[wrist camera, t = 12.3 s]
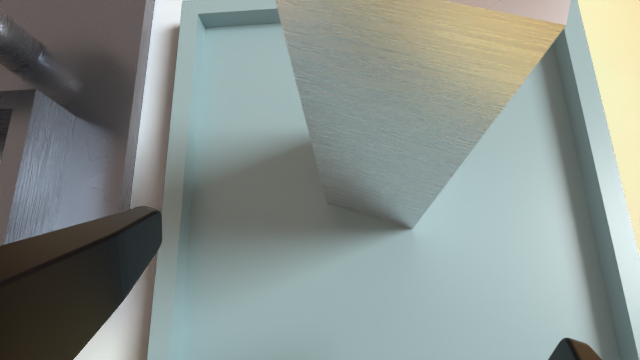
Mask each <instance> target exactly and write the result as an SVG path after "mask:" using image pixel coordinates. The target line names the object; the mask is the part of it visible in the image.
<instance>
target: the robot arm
mask: <svg viewBox="0 0 640 360" xmlns="http://www.w3.org/2000/svg"><path fill="white" fill-rule="evenodd" d="M161 243H162V215H161V212H160V211H158V210H156V209H153V208H150V207H146V206H142V207H138V208H134V209H131V210H127V211H123V212H120V213H116V214H112V215H109V216H105V217H102V218H98V219H94V220H91V221H87V222H84V223H80V224H76V225H73V226H69V227H66V228H62V229H58V230H55V231H51V232H48V233H44V234H40V235H37V236H33V237H29V238H26V239H22V240H19V241H15V242H11V243H8V244H4V245H1V246H0V360H73V359H74V358H75V357H76V356H77V355H78V354H79V352H80V351H81V350H82V349H83V348H84V347H85V345H86V344H87V343H88V342H89V341H90V339H91V338H92V337H93V336H94V335H95V334H96V332H97V331H98V330H99V329H100V328H101V327H102V325H103V324H104V323H105V322H106V321H107V319H108V318H109V317H110V316H111V315H112V314H113V312H114V311H115V310H116V309H117V308H118V306H119V305H120V304H121V303H122V301H123V300H124V299H125V297H126V296H127V295H128V293H129V292H130V291H131V289H132V288H133V286H134V285H135V283H136V282H137V280H138V279H139V277H140V276H141V275H142V273H143V272H144V270H145V269H146V267H147V266H148V264H149V263H150V261H151V260H152V258H153V257H154V256H155V254H156V253H157V251H158V250H159V248H160V246H161ZM548 360H602V359H601V358H600V357H599V355H598V354H597V353H596V352H595V351H594V350H593V349H592V348H591V347H590V346H589V345H588V344H586V343H584V342H581V341H578V340H575V339H571V338H563V339H562V340H561V341H560V342H559V343H558V345H557V346H556V348H555V350H554V351H553V353H552V354H551V356H550V357H549V359H548Z"/></svg>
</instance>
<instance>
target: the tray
mask: <svg viewBox="0 0 640 360" xmlns="http://www.w3.org/2000/svg"><path fill="white" fill-rule="evenodd" d="M161 215H162V243H161V246H160V248H159V250H158V253H157V263H156V273H155V283H154V294H153V304H152V314H151V324H150V334H149V344H148V354H147V360H548V359H549V357H550V356H551V354H552V353H553V351H554V350H555V348H556V346H557V345H558V343H559V342H560V341H561V340H562V339H563V338H571V339H575V340H578V341H581V342H584V343H586V344H588V345H589V346H590V347H591V348H592V349H593V350H594V351H595V352H596V353H597V354H598V355H599V357H600V358H601V359H602V360H640V256H639V252H638V248H637V244H636V240H635V236H634V232H633V228H632V223H631V219H630V215H629V211H628V207H627V203H626V199H625V195H624V191H623V186H622V182H621V178H620V174H619V170H618V166H617V162H616V158H615V154H614V149H613V145H612V141H611V137H610V133H609V129H608V125H607V121H606V117H605V112H604V108H603V104H602V100H601V96H600V92H599V88H598V84H597V80H596V76H595V71H594V67H593V63H592V59H591V55H590V51H589V47H588V43H587V39H586V34H585V30H584V26H583V22H582V18H581V14H580V10H579V6H578V2H577V0H571V2H570V8H569V13H568V19H567V24H566V26H565V27H564V29H563V30H562V31H561V33H560V34H559V35H558V37H557V38H556V39H555V41H554V42H553V43H552V45H551V46H550V47H549V49H548V50H547V51H546V53H545V54H544V55H543V57H542V58H541V59H540V61H539V62H538V63H537V65H536V66H535V67H534V69H533V70H532V71H531V73H530V74H529V75H528V77H527V78H526V79H525V81H524V82H523V83H522V85H521V86H520V87H519V89H518V90H517V91H516V93H515V94H514V95H513V97H512V98H511V99H510V101H509V102H508V103H507V105H506V106H505V107H504V109H503V110H502V111H501V113H500V114H499V115H498V117H497V118H496V119H495V120H494V122H493V123H492V124H491V126H490V127H489V128H488V130H487V131H486V132H485V134H484V135H483V136H482V138H481V139H480V140H479V142H478V143H477V144H476V146H475V147H474V148H473V150H472V151H471V152H470V154H469V155H468V156H467V158H466V159H465V160H464V162H463V163H462V164H461V166H460V167H459V168H458V170H457V171H456V172H455V174H454V175H453V176H452V178H451V179H450V180H449V182H448V183H447V184H446V186H445V187H444V188H443V190H442V191H441V192H440V194H439V195H438V196H437V198H436V199H435V200H434V202H433V203H432V204H431V206H430V207H429V208H428V210H427V211H426V212H425V213H424V215H423V216H422V217H421V219H420V220H419V221H418V223H417V224H416V225H415V227H414V228H413V229H411V228H407V227H404V226H400V225H397V224H394V223H390V222H387V221H383V220H380V219H376V218H373V217H370V216H366V215H363V214H359V213H356V212H353V211H349V210H346V209H342V208H339V207H336V206H332V205H329V204H327V203H326V199H325V195H324V191H323V187H322V183H321V179H320V175H319V171H318V167H317V164H316V160H315V156H314V152H313V148H312V144H311V140H310V136H309V132H308V128H307V124H306V120H305V116H304V112H303V108H302V104H301V100H300V96H299V92H298V88H297V85H296V81H295V77H294V73H293V69H292V65H291V61H290V57H289V53H288V49H287V45H286V41H285V37H284V33H283V29H282V25H281V21H280V17H279V13H278V10H277V6H276V2H275V0H186V1H182V10H181V20H180V30H179V40H178V50H177V60H176V71H175V81H174V91H173V101H172V111H171V121H170V131H169V142H168V152H167V162H166V172H165V182H164V192H163V202H162V213H161Z"/></svg>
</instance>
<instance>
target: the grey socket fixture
mask: <svg viewBox="0 0 640 360" xmlns="http://www.w3.org/2000/svg"><path fill="white" fill-rule="evenodd" d="M154 3H155V0H0V246H1V245H4V244H8V243H11V242H15V241H19V240H22V239H26V238H29V237H33V236H37V235H40V234H44V233H48V232H51V231H55V230H58V229H62V228H66V227H69V226H73V225H76V224H80V223H84V222H87V221H91V220H94V219H98V218H102V217H105V216H109V215H112V214H116V213H120V212H123V211H127V210H129V206H130V198H131V190H132V182H133V174H134V166H135V158H136V149H137V141H138V133H139V125H140V117H141V109H142V100H143V92H144V84H145V76H146V68H147V60H148V52H149V43H150V35H151V27H152V19H153V11H154Z"/></svg>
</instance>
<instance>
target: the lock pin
mask: <svg viewBox="0 0 640 360" xmlns="http://www.w3.org/2000/svg"><path fill="white" fill-rule="evenodd" d="M275 2H276V6H277V10H278V13H279V17H280V21H281V25H282V29H283V33H284V37H285V41H286V45H287V49H288V53H289V57H290V61H291V65H292V69H293V73H294V77H295V81H296V85H297V88H298V92H299V96H300V100H301V104H302V108H303V112H304V116H305V120H306V124H307V128H308V132H309V136H310V140H311V144H312V148H313V152H314V156H315V160H316V164H317V167H318V171H319V175H320V179H321V183H322V187H323V191H324V195H325V199H326V203H327V204H329V205H332V206H336V207H339V208H342V209H346V210H349V211H353V212H356V213H359V214H363V215H366V216H370V217H373V218H376V219H380V220H383V221H387V222H390V223H394V224H397V225H400V226H404V227H407V228H411V229H413V228H414V227H415V225H416V224H417V223H418V221H419V220H420V219H421V217H422V216H423V215H424V213H425V212H426V211H427V210H428V208H429V207H430V206H431V204H432V203H433V202H434V200H435V199H436V198H437V196H438V195H439V194H440V192H441V191H442V190H443V188H444V187H445V186H446V184H447V183H448V182H449V180H450V179H451V178H452V176H453V175H454V174H455V172H456V171H457V170H458V168H459V167H460V166H461V164H462V163H463V162H464V160H465V159H466V158H467V156H468V155H469V154H470V152H471V151H472V150H473V148H474V147H475V146H476V144H477V143H478V142H479V140H480V139H481V138H482V136H483V135H484V134H485V132H486V131H487V130H488V128H489V127H490V126H491V124H492V123H493V122H494V120H495V119H496V118H497V117H498V115H499V114H500V113H501V111H502V110H503V109H504V107H505V106H506V105H507V103H508V102H509V101H510V99H511V98H512V97H513V95H514V94H515V93H516V91H517V90H518V89H519V87H520V86H521V85H522V83H523V82H524V81H525V79H526V78H527V77H528V75H529V74H530V73H531V71H532V70H533V69H534V67H535V66H536V65H537V63H538V62H539V61H540V59H541V58H542V57H543V55H544V54H545V53H546V51H547V50H548V49H549V47H550V46H551V45H552V43H553V42H554V41H555V39H556V38H557V37H558V35H559V34H560V33H561V31H562V30H563V29H564V27H565V26H566V24H567V19H568V13H569V8H570V2H571V0H275Z"/></svg>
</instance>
